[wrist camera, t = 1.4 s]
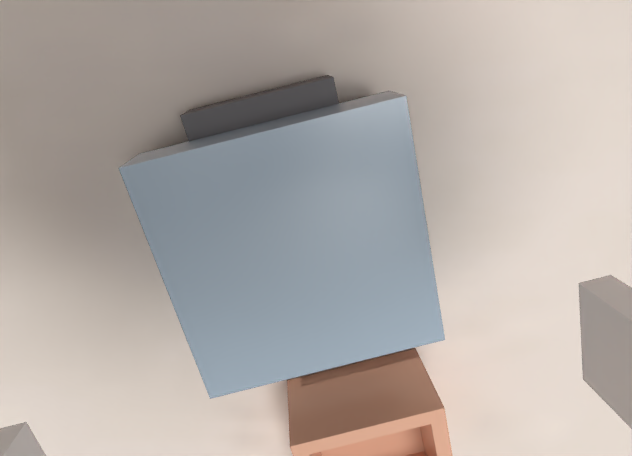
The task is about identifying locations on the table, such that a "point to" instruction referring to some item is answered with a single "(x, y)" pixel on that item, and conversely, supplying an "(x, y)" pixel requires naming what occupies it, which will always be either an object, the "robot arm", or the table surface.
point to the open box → (368, 410)
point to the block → (260, 107)
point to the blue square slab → (292, 242)
